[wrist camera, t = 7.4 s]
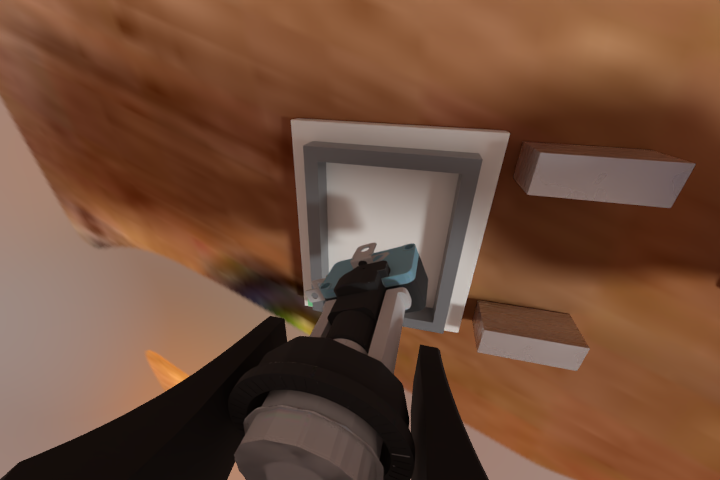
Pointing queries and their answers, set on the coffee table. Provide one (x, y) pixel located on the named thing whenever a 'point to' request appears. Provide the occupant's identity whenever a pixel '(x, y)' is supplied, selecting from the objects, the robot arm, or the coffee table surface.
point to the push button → (336, 380)
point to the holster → (584, 182)
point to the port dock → (397, 202)
